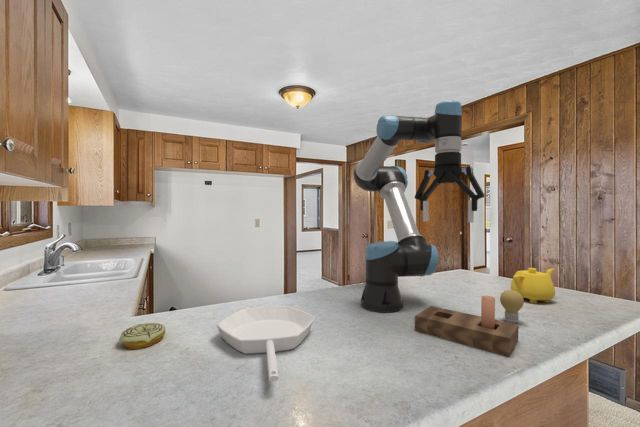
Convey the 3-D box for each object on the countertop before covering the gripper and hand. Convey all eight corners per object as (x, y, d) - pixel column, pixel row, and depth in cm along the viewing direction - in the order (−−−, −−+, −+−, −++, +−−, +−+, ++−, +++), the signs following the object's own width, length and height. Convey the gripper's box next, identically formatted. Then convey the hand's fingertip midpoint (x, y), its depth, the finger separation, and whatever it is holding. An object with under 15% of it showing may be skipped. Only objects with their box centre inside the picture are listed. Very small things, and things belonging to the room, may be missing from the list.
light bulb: (527, 326, 93) (527, 293, 93) (504, 324, 95) (504, 292, 94) (518, 319, 100) (518, 288, 99) (496, 317, 101) (497, 287, 101)
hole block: (414, 330, 90) (414, 315, 90) (430, 319, 99) (430, 305, 99) (509, 357, 74) (510, 338, 74) (518, 340, 83) (518, 324, 83)
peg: (479, 342, 82) (480, 297, 82) (482, 338, 85) (483, 295, 85) (493, 345, 80) (493, 299, 80) (495, 341, 83) (496, 297, 82)
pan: (307, 317, 102) (307, 303, 102) (343, 388, 61) (343, 366, 61) (221, 323, 96) (221, 309, 96) (197, 406, 56) (197, 382, 56)
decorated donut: (110, 352, 77) (110, 337, 77) (133, 334, 88) (133, 321, 88) (153, 350, 78) (153, 335, 78) (171, 333, 88) (171, 320, 88)
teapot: (570, 302, 118) (570, 270, 117) (529, 306, 112) (529, 273, 112) (536, 293, 130) (537, 264, 130) (499, 296, 125) (499, 266, 125)
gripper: (404, 155, 100) (404, 220, 100) (490, 145, 84) (489, 223, 84) (414, 158, 106) (414, 220, 106) (496, 149, 89) (495, 222, 90)
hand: (447, 221), depth 95 cm, fingers open, 13 cm apart
